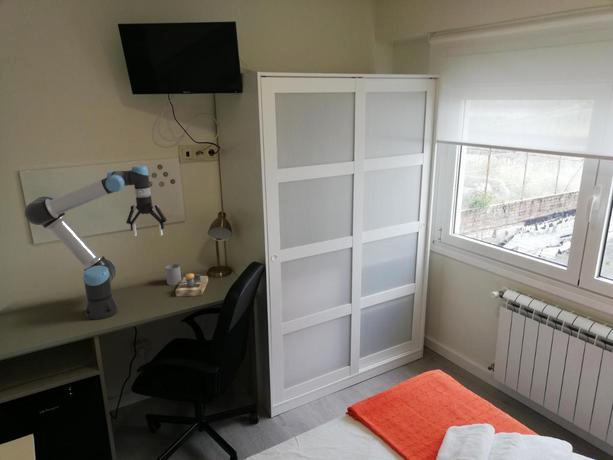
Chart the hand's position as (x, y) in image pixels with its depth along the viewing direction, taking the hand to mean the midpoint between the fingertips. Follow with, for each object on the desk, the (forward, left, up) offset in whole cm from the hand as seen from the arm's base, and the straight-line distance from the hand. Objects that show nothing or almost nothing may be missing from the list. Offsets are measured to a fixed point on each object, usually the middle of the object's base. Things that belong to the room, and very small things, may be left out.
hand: (148, 235), depth 240 cm
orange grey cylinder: (+18, +5, -35) cm, 39 cm away
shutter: (+18, +12, -31) cm, 38 cm away
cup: (+5, +20, -35) cm, 41 cm away
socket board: (+18, +9, -35) cm, 40 cm away
